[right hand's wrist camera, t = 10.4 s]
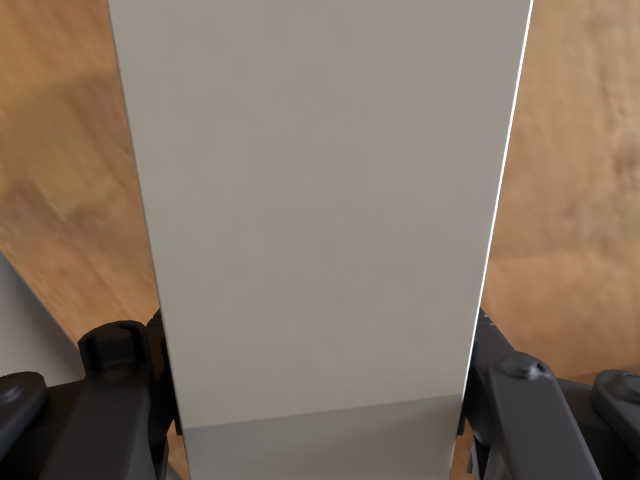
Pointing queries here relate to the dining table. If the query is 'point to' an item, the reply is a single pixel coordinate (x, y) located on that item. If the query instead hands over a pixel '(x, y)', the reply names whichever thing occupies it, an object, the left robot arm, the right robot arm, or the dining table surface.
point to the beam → (319, 220)
